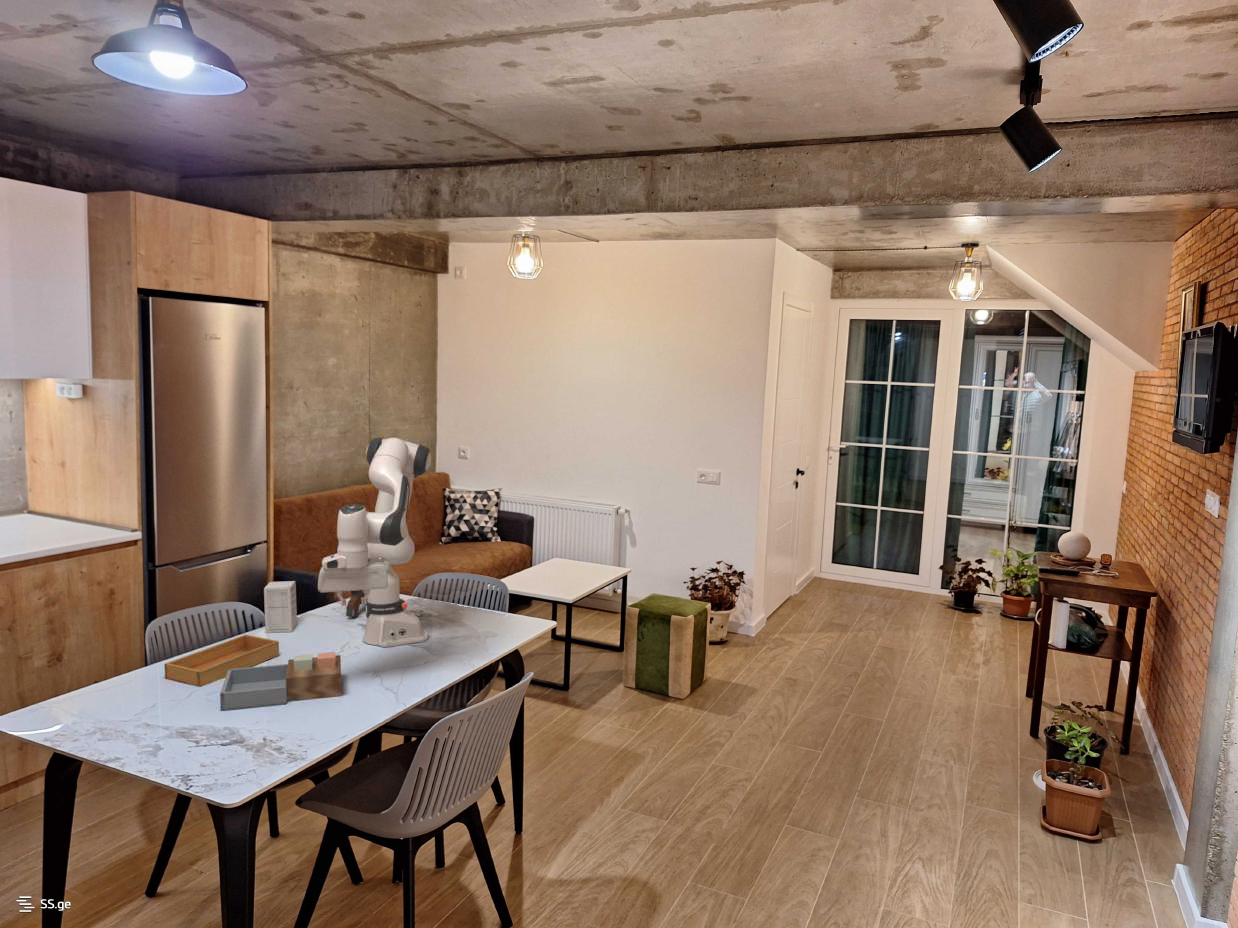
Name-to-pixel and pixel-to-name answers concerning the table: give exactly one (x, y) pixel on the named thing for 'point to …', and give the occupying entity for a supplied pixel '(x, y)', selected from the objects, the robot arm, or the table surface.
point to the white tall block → (280, 607)
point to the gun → (354, 603)
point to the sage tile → (303, 662)
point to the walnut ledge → (313, 681)
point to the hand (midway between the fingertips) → (353, 604)
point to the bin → (254, 687)
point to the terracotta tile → (326, 660)
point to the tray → (221, 660)
